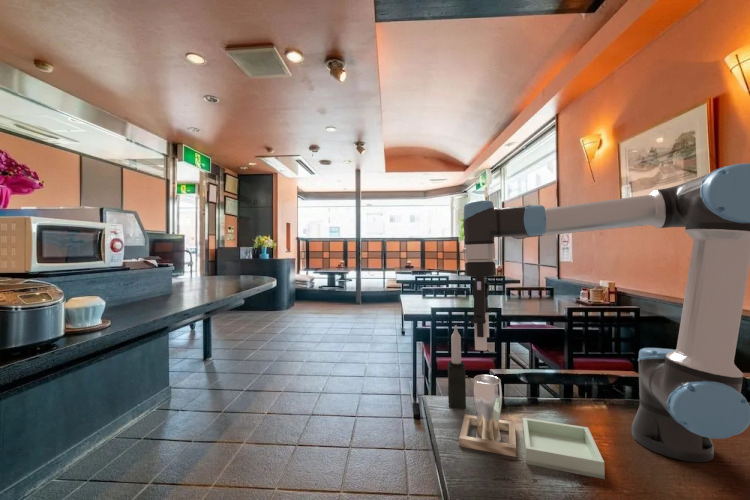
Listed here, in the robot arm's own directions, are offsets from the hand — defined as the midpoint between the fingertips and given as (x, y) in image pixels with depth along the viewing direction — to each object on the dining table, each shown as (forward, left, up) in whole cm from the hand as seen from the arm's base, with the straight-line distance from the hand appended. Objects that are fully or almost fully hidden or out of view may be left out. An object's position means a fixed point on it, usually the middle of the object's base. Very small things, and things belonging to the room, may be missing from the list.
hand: (482, 343), depth 87 cm
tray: (-17, +1, -24) cm, 30 cm away
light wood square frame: (-1, 0, -24) cm, 24 cm away
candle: (+9, -16, -24) cm, 31 cm away
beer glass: (-1, 0, -24) cm, 25 cm away
